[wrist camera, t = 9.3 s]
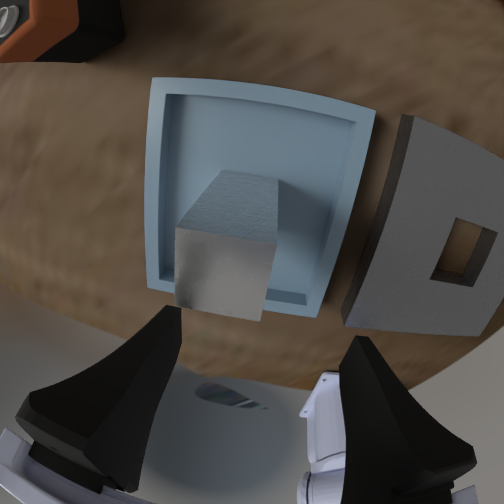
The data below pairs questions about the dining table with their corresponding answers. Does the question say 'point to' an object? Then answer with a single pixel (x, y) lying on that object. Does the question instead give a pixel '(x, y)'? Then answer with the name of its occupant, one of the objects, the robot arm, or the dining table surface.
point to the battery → (58, 29)
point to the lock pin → (228, 246)
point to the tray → (256, 173)
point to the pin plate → (431, 238)
